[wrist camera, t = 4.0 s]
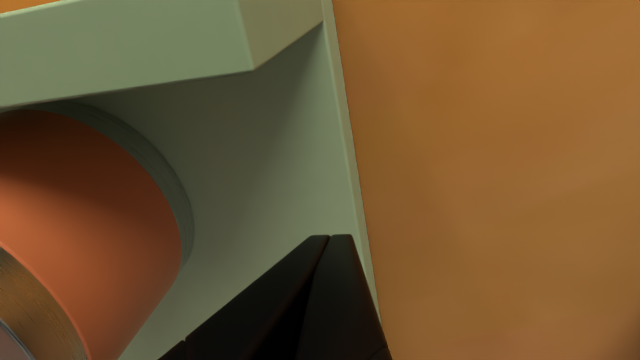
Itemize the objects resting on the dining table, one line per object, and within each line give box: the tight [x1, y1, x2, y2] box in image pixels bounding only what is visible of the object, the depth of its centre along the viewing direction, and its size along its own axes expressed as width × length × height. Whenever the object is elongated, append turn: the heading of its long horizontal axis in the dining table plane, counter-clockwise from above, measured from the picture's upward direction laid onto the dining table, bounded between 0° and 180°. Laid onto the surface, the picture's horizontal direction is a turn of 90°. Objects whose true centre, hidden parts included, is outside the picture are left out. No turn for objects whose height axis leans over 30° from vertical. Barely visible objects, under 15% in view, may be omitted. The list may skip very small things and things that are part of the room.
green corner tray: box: [0, 0, 382, 360], centre depth 13 cm, size 19×15×6 cm
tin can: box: [0, 101, 194, 360], centre depth 10 cm, size 7×7×6 cm
